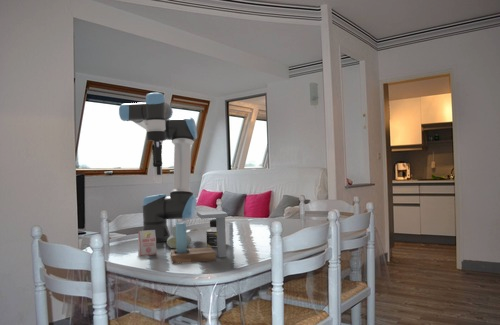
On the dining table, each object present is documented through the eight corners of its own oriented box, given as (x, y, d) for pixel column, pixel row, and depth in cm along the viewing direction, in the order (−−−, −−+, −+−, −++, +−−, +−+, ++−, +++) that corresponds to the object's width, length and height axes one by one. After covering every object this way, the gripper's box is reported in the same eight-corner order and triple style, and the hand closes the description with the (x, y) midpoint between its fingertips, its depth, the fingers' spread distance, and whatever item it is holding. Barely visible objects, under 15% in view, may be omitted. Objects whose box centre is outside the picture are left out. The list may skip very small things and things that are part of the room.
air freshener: (163, 249, 176) (163, 226, 176) (172, 245, 184) (172, 224, 184) (186, 249, 173) (185, 226, 173) (194, 246, 181) (193, 224, 181)
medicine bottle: (206, 246, 179) (205, 220, 179) (213, 243, 185) (213, 218, 186) (220, 247, 176) (219, 220, 176) (227, 244, 183) (226, 218, 183)
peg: (186, 258, 154) (185, 222, 155) (187, 260, 151) (186, 223, 151) (176, 259, 153) (175, 223, 154) (177, 261, 150) (176, 224, 150)
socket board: (170, 257, 157) (170, 250, 157) (210, 254, 161) (210, 246, 161) (172, 263, 145) (172, 255, 145) (215, 260, 149) (215, 252, 149)
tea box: (138, 254, 165) (137, 230, 166) (154, 252, 168) (154, 229, 169) (139, 256, 162) (139, 231, 162) (156, 254, 165) (155, 230, 165)
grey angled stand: (198, 254, 161) (196, 211, 161) (222, 252, 163) (220, 210, 164) (202, 261, 147) (201, 214, 148) (228, 259, 150) (227, 213, 150)
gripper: (145, 133, 173) (147, 181, 173) (147, 128, 150) (149, 184, 149) (163, 133, 176) (164, 181, 176) (168, 128, 152) (169, 183, 152)
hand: (157, 182), depth 163 cm, fingers open, 13 cm apart
